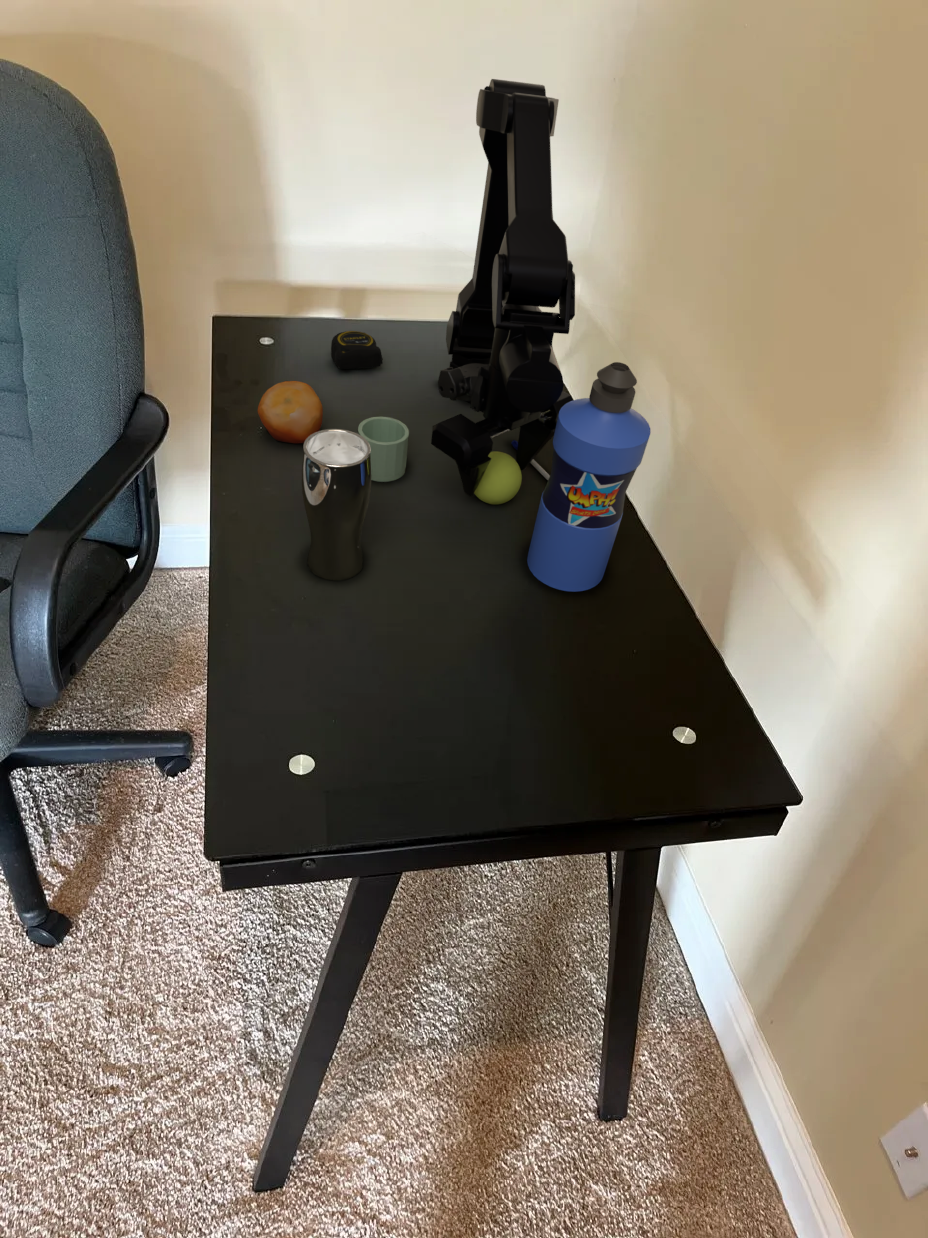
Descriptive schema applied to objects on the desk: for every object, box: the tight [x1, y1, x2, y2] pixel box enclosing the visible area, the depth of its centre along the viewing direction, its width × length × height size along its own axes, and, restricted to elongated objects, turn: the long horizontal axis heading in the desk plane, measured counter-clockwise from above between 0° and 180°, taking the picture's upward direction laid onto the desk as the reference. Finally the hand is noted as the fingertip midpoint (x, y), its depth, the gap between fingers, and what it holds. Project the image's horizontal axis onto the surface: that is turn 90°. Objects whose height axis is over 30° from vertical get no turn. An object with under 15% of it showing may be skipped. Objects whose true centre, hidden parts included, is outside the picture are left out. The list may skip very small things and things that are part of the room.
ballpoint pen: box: [510, 439, 550, 481], centre depth 109 cm, size 10×1×1 cm, turn 33°
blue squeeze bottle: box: [526, 361, 652, 593], centre depth 87 cm, size 9×9×25 cm
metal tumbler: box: [301, 428, 372, 581], centre depth 86 cm, size 7×7×15 cm
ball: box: [473, 451, 523, 505], centre depth 101 cm, size 6×6×6 cm
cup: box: [357, 416, 410, 483], centre depth 103 cm, size 6×6×6 cm
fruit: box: [257, 380, 324, 444], centre depth 106 cm, size 8×8×8 cm
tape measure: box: [330, 330, 384, 370], centre depth 122 cm, size 7×7×4 cm
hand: (494, 480), depth 101 cm, fingers open, 9 cm apart
